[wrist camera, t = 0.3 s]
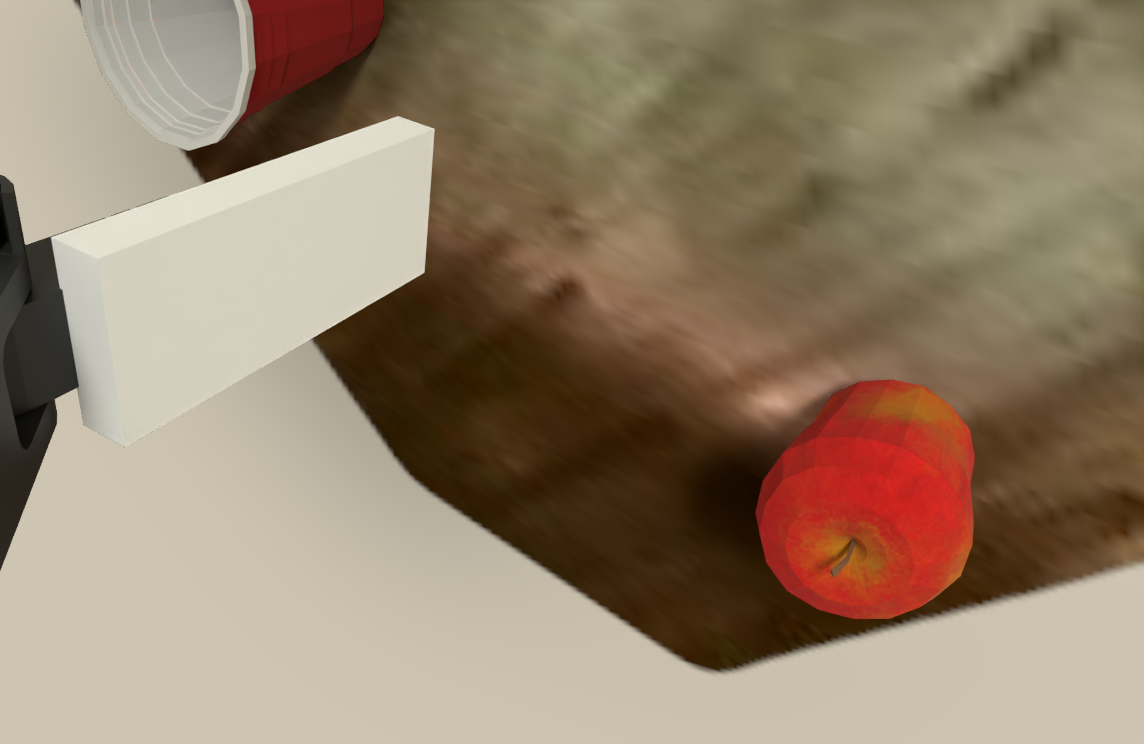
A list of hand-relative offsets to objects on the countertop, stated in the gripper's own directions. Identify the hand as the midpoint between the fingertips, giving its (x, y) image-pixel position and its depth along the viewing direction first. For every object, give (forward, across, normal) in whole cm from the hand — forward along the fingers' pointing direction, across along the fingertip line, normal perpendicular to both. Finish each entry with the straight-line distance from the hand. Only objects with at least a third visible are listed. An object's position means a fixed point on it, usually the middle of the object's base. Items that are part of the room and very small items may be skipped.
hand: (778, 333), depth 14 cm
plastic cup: (+28, -31, -5) cm, 42 cm away
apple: (+28, +2, -17) cm, 33 cm away
